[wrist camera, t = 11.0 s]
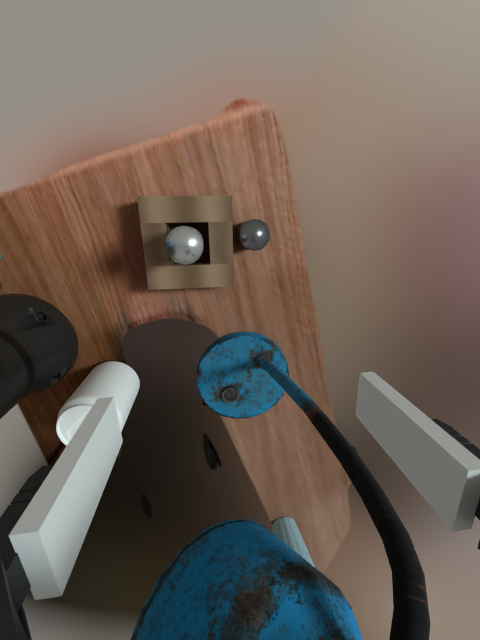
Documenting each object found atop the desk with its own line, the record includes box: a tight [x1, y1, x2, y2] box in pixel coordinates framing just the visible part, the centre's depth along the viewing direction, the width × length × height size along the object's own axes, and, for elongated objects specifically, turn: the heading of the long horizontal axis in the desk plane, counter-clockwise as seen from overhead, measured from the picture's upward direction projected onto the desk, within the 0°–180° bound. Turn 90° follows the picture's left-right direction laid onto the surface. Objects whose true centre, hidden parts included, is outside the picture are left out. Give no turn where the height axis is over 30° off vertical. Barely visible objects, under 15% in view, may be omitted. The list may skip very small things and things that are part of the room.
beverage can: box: [56, 361, 140, 446], centre depth 41 cm, size 8×8×12 cm
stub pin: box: [237, 219, 270, 250], centre depth 39 cm, size 4×4×5 cm
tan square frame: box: [137, 196, 234, 290], centre depth 39 cm, size 12×12×4 cm
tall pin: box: [166, 226, 203, 264], centre depth 35 cm, size 4×4×12 cm
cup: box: [272, 517, 314, 566], centre depth 56 cm, size 8×8×10 cm
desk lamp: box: [131, 332, 430, 640], centre depth 28 cm, size 16×22×45 cm
